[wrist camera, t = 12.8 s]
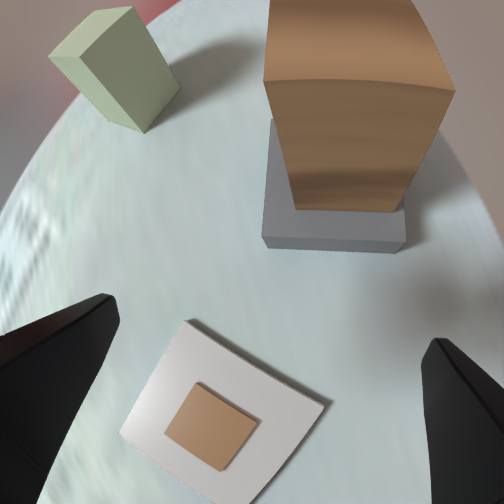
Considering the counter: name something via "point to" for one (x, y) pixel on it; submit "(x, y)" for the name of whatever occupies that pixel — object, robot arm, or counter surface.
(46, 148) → the counter surface
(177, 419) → the card
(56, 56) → the sage block
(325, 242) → the base block
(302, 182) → the walnut block
